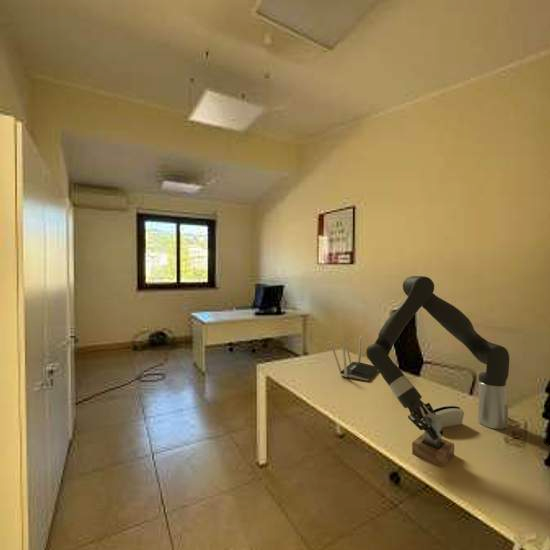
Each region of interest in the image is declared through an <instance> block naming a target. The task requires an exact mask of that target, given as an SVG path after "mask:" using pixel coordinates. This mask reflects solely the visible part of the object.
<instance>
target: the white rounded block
mask: <svg viewBox="0 0 550 550" xmlns="http://www.w3.org/2000/svg"><path fill="white" fill-rule="evenodd" d="M432 408H433V410H434V412H435V414H436V415H439V416H442V426H441V429H442V428H448V427H453V426H454V427H455V426H460V425H462V424H463V420H464V415H465V412H464V410H463V409H462V408H461V407H460V406H458V405H457V404H450V403H448V404H440V405H436V406H433V407H432ZM424 423H425V422H424Z"/></svg>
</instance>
